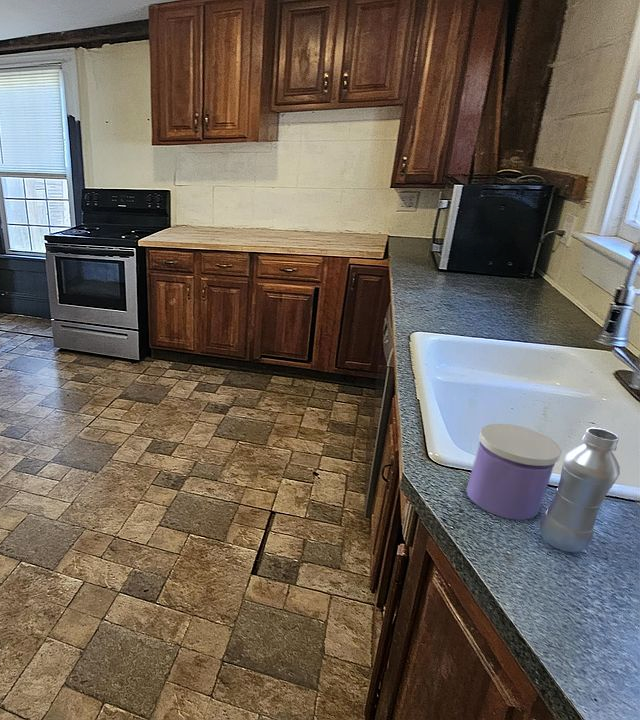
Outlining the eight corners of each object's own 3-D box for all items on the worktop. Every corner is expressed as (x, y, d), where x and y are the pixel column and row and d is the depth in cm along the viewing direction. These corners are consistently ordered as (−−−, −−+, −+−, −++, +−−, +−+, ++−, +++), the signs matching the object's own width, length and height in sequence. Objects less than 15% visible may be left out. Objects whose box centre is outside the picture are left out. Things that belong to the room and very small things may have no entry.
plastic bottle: (535, 523, 88) (573, 418, 80) (586, 540, 84) (630, 432, 77) (534, 546, 83) (573, 435, 75) (587, 564, 79) (634, 451, 72)
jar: (525, 485, 98) (544, 428, 93) (551, 526, 87) (574, 464, 83) (457, 476, 100) (472, 419, 96) (474, 514, 90) (492, 453, 85)
